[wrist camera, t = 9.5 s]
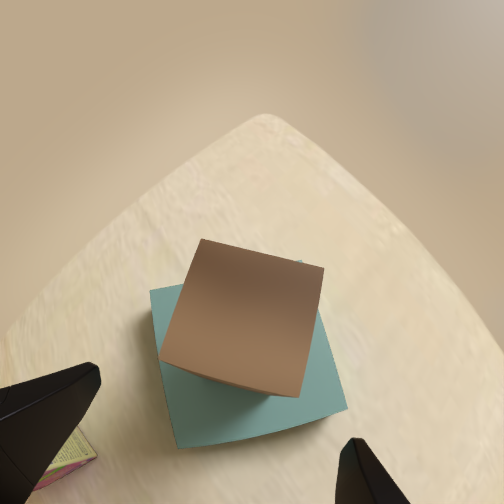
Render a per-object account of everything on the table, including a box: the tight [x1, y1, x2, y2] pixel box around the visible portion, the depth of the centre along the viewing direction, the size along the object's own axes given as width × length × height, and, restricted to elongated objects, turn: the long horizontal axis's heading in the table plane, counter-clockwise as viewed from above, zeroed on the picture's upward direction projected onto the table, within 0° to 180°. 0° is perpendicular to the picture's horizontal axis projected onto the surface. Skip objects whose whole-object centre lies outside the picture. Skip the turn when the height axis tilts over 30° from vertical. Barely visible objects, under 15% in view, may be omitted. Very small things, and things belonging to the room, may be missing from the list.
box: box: [33, 426, 97, 491], centre depth 10 cm, size 10×6×12 cm, turn 132°
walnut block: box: [158, 239, 324, 398], centre depth 14 cm, size 5×5×10 cm
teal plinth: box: [150, 260, 348, 449], centre depth 20 cm, size 12×12×3 cm
